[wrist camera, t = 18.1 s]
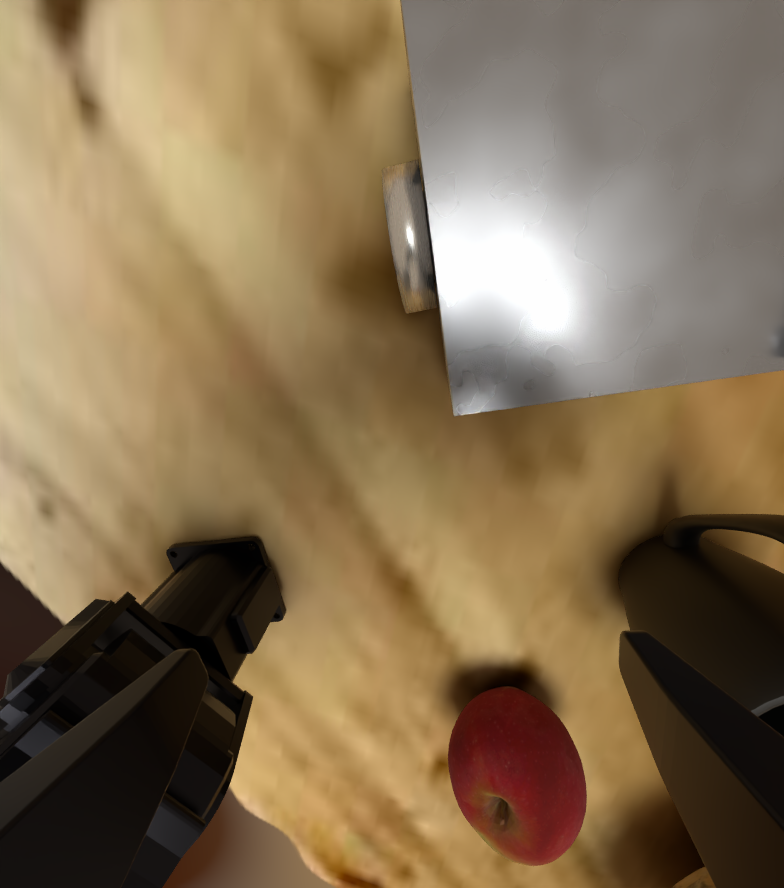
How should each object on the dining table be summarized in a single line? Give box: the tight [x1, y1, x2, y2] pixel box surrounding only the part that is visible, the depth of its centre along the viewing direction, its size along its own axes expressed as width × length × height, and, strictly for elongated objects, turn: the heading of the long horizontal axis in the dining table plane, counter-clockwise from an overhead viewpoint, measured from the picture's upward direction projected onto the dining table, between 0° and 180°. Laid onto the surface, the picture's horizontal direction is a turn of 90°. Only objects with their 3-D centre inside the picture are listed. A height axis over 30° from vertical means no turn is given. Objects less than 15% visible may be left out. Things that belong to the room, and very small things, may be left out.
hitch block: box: [400, 0, 784, 416], centre depth 12 cm, size 11×12×7 cm
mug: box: [618, 514, 784, 737], centre depth 16 cm, size 8×12×10 cm
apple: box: [448, 686, 587, 866], centre depth 22 cm, size 8×8×8 cm
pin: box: [382, 160, 437, 313], centre depth 13 cm, size 15×5×5 cm, turn 100°
